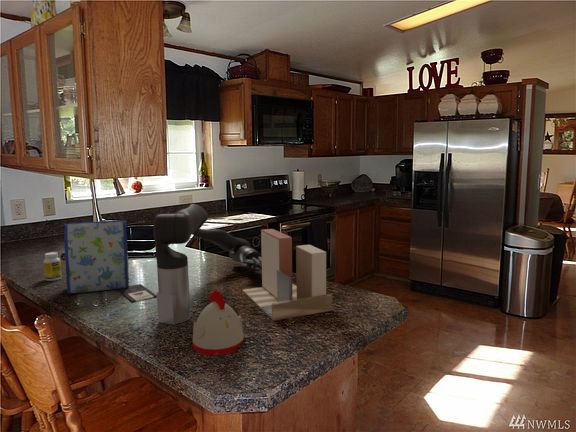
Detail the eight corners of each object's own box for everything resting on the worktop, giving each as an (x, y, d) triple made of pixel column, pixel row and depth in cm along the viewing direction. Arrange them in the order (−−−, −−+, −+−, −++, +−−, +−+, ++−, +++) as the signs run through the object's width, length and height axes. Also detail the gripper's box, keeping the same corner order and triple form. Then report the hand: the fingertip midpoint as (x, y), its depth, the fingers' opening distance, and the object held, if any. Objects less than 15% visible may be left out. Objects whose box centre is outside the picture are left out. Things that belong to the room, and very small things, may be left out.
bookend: (261, 307, 140) (260, 272, 138) (279, 305, 143) (278, 270, 141) (272, 318, 131) (271, 280, 129) (291, 315, 134) (291, 278, 132)
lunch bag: (130, 278, 179) (126, 216, 175) (131, 289, 164) (126, 222, 160) (71, 284, 171) (65, 220, 168) (66, 297, 156) (59, 226, 152)
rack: (242, 292, 159) (242, 276, 158) (291, 285, 167) (291, 270, 166) (274, 323, 130) (273, 304, 129) (332, 313, 138) (332, 295, 137)
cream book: (296, 300, 147) (295, 246, 144) (309, 297, 149) (309, 244, 146) (311, 311, 136) (311, 253, 134) (326, 309, 138) (326, 251, 136)
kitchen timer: (206, 360, 108) (203, 303, 105) (184, 341, 119) (181, 289, 116) (253, 345, 116) (252, 292, 113) (229, 329, 127) (227, 280, 124)
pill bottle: (54, 281, 175) (52, 255, 174) (41, 281, 177) (38, 254, 175) (65, 277, 181) (62, 251, 180) (52, 276, 183) (50, 251, 181)
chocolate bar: (140, 283, 169) (157, 295, 155) (140, 286, 169) (157, 298, 155) (117, 288, 164) (131, 301, 150) (117, 291, 164) (132, 303, 150)
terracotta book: (261, 287, 162) (260, 229, 159) (273, 285, 164) (272, 228, 160) (279, 302, 145) (278, 238, 142) (292, 300, 147) (291, 237, 144)
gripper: (235, 250, 177) (248, 260, 161) (265, 247, 182) (280, 256, 166) (235, 268, 178) (248, 279, 162) (265, 264, 183) (281, 275, 167)
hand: (265, 267), depth 164 cm, fingers closed
